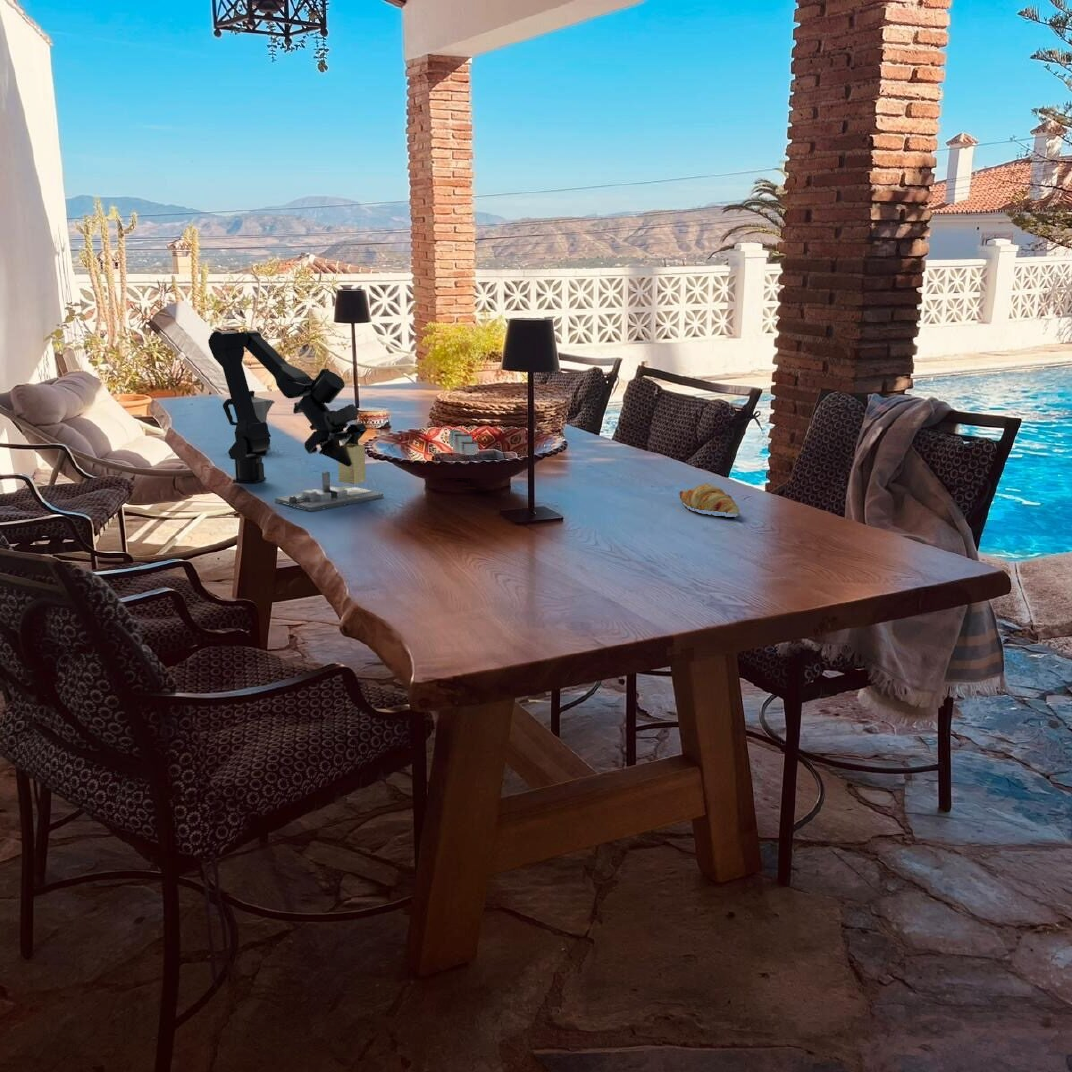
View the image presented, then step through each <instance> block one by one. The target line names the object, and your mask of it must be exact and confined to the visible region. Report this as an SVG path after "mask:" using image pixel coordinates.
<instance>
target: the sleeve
mask: <svg viewBox="0 0 1072 1072" xmlns="http://www.w3.org/2000/svg"><path fill="white" fill-rule="evenodd" d="M358 444H359V443H358ZM358 444H345V445H343V444H342V445H341V444H340V446H341V448H342V449H343V451H344V452H345V454H346V455H347V457H348V459H349V460H350V462H351V465H350V466H349V467H348V466H346V465H344V464H342V463H340V462H338V461H337V462H338V482H339V483H342V484H343V483H344V484H351V485H356V484H360V483H362V482H365V481H366V454H365V452H366V449H365V448H366V447H365V445H364V444H359V445H358Z"/></svg>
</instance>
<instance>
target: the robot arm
mask: <svg viewBox="0 0 1072 1072" xmlns="http://www.w3.org/2000/svg"><path fill="white" fill-rule="evenodd" d="M207 344H208V346H209V350H210V352H211V354H212V356H213V358H214V360H215V361H216V362H217V363H218V364H219V365H220V366H221V367H222V370H223V373H224V378H225V381H226V385H227V388H228V393H229V396H230V399H231V400H232V403H233V405H232V406H233V411H234V414H235V416H236V423H237V425H235V430H234V437H235V442H233V444H232V446H231V447H230V449H229V450H228V451H227V453H228V455H229V458H230V460H234V467H235V478H233V479H232V482H236V483H248V484H256V483H259V482H262V481H264V480H267V477H265V465H264V462H263V457H266V456H267V453H268V450H269V449H268V446H269V444H270V445H271V437H272V436H271V435H272V434H270V430H269V428H268V427H269V425H268V423H267V421H266V422H261V421H260V420H259V419H258V418H257V416H256V413H255V410H254V406H253V402H252V399H251V395H250V391H251V390H250V388H249V385H248V381H247V377H246V373H245V371H244V367H243V361H244V357H245V349H246V350H247V351H248V352H249V353H250V354H252V356H253V357H254V358H255V359H256V360H257V361H258V362H259V363H260V364H261V365H262V366H263V367H264V368H265V369H266V370H267V371H268V372H269V373H270V374H271V375H272V376H273V377H274V379H275V384H276V387H278V389H279V391H280V392H281V393H282V395H283V396H284V397H285V398H287V399H298V398H301V399H300V400H299V401H296V402H294V404H293V405H294V407H293V414H294V415H296V414H301V413H302V414H303V415H304V416H305V418H306V419H307V420H308V421H309V423H310V424H311V425H310V426H309V429H310V430H311V431H313V432H312V433H311V435H310V436H309V437H308V438H307V439H306V440H305V442H304V449H305V451H306V452H307V453H308V454H309V455H310V454H315V453H317V452H318V454H319V455H323V456H325V457H327V458H330V459H333V460H334V461H336V462H340V463H342V464H344V465H346V466H348V467H349V466H350V465H351V462H350V460H349V459H348V457H347V455H346V454H345V452H344V451H343V449H342V448H341V444H342V445H345V444H358V445H360V443H359V440H360V439H361V438H362V436H363V435H365V433H366V432H367V431H368V427H367V426H366V425H365V423H363V422H356V423H352V424H350V425H349V424H348V423H349V422H351V421H355V420H357V419H358V418H359V414H360V412H359V411H360V410H359V409H358V408H357V407H356V406H355V404H353V403H350V404H347V405H346V406H344V407H342V408H340V409H337V410H335V409H333V410H330V408H329V407H328V406H327V405H326V404H331V403H332V402H333V401H334V400H336V398H337V397H338V395H339V394H340V393H341V392H342V391H343V389H344V388H345V385H346V383H345V382H344V380H343V378H342V377H341V376H339V375H338V374H337V373H334V372H333V371H330V369H329V368H321V370H320V371H319V373H318V375H317V376H316V378H315V379H312V377H311V376H310V375H309V374H308V373H306V372H305V371H303V370H301V369H300V368H297V367H295V366H293V365H291V364H290V363H289V362H287V361H286V359H284V358H283V357H282V356H281V354H279V353H278V352H277V351H276V350H275V349H274V347H272V346H271V345H270V344H269V343H268V341H266V339H265V338H263V336H262V334H261V332H259V331H257V330H243V331H239V332H238V331H236V330H220V331H213V332H211V334H210V336H209V338H208V343H207ZM347 426H348V427H347ZM344 429H346V430H344ZM317 446H320V450H319V451H318V447H317ZM267 449H268V450H267Z"/></svg>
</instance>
